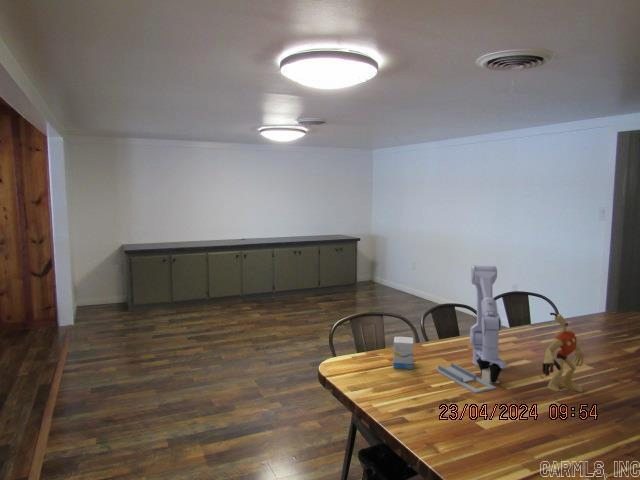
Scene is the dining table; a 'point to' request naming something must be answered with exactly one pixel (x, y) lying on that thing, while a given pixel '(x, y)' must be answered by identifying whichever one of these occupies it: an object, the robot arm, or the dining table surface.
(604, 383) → the dining table surface
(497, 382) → the pad
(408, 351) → the ink box
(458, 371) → the rail board
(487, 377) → the block
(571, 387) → the toy
